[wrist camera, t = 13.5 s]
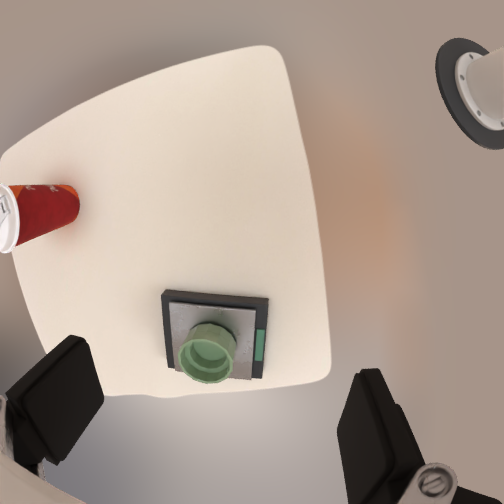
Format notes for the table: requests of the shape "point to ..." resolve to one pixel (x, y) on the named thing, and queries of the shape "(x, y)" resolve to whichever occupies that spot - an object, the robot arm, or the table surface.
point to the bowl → (207, 354)
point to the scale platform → (229, 318)
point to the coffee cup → (34, 212)
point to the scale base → (224, 301)
